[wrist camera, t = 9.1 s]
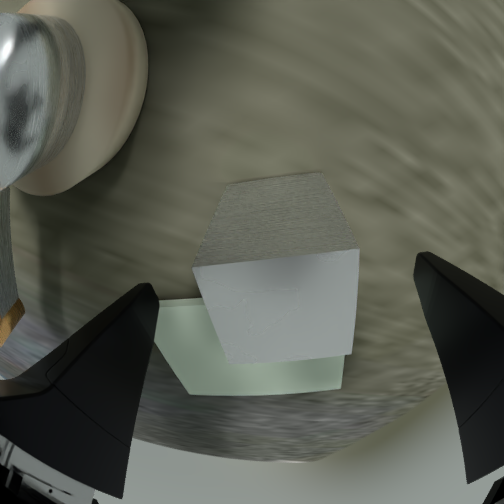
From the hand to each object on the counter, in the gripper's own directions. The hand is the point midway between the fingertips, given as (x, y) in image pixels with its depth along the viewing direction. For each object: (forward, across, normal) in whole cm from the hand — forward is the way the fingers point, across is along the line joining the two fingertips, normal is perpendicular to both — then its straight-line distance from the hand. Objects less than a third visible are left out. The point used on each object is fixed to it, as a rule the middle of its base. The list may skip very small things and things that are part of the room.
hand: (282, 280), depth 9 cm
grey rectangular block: (+4, 0, 0) cm, 4 cm away
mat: (+4, +3, +9) cm, 11 cm away
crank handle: (+2, +12, -5) cm, 13 cm away
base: (+4, +9, -9) cm, 13 cm away
